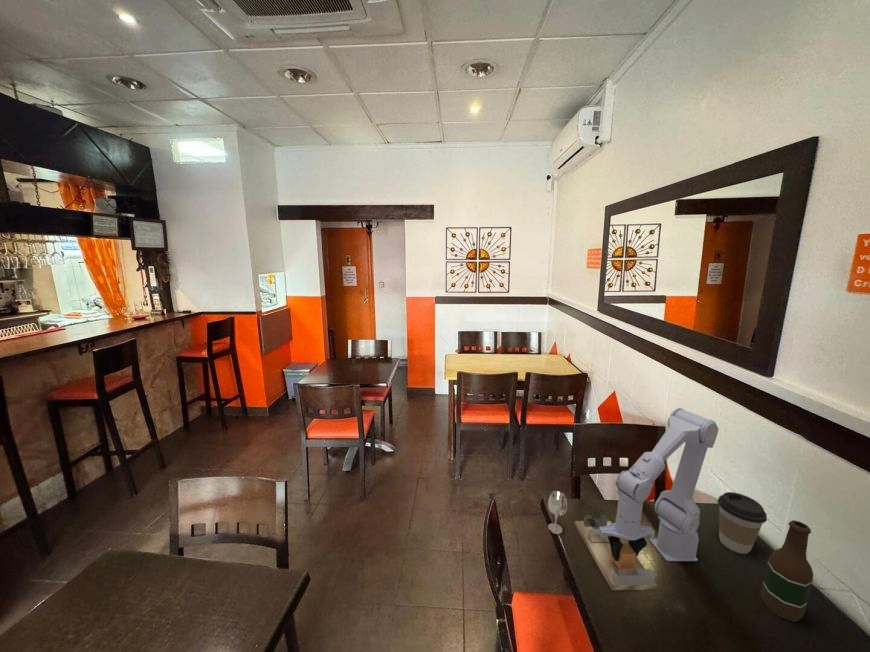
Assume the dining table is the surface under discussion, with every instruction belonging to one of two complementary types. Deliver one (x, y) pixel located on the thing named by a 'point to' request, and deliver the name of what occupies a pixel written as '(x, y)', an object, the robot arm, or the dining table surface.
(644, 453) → the robot arm
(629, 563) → the orange block
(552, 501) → the wineglass
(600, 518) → the moving jaw
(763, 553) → the dining table surface
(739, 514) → the coffee cup
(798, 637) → the dining table surface
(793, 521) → the beer bottle
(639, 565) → the vise bed
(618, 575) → the fixed jaw
